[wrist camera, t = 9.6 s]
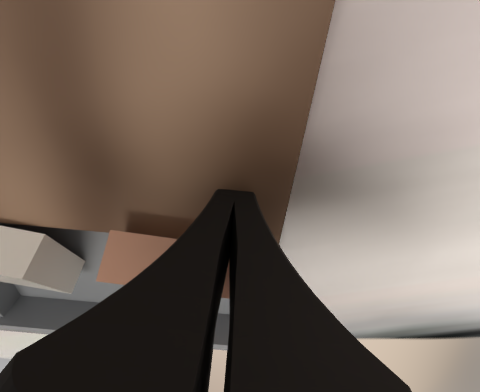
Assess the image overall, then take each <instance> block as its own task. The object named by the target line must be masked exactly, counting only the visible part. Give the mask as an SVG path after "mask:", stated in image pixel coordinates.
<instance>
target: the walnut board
mask: <svg viewBox="0 0 480 392" xmlns="http://www.w3.org/2000/svg"><path fill="white" fill-rule="evenodd" d="M334 3H335V0H0V223H9V224H20V225H31V226H41V227H52V228H63V229H73V230H84V231H95V232H106V233H109V232H110V230H115V231H122V232H130V233H137V234H144V235H151V236H159V237H166V238H173V239H178V238H179V237H180V236H181V235H182V234H183V233H184V232H185V231H186V230H187V228H188V227H189V226H190V225H191V224H192V223H193V222H194V220H195V219H196V218H197V217H198V215H199V214H200V213H201V212H202V210H203V209H204V208H205V206H206V205H207V203H208V202H209V201H210V199H211V197H212V196H213V194H214V192H215V191H216V190H217V189H227V190H237V191H248V192H253V193H254V194H255V195H256V198H257V202H258V204H259V207H260V209H261V212H262V214H263V216H264V218H265V220H266V222H267V224H268V226H269V228H270V230H271V232H272V234H273V236H274V237H275V239H276V241H277V243H278V244H279V241H280V237H281V232H282V228H283V224H284V219H285V215H286V211H287V206H288V202H289V198H290V193H291V189H292V185H293V180H294V176H295V172H296V167H297V163H298V159H299V155H300V150H301V146H302V142H303V137H304V133H305V129H306V124H307V120H308V116H309V111H310V107H311V103H312V98H313V94H314V90H315V85H316V81H317V77H318V72H319V68H320V64H321V60H322V55H323V51H324V47H325V42H326V38H327V34H328V29H329V25H330V21H331V16H332V12H333V8H334Z"/></svg>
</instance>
